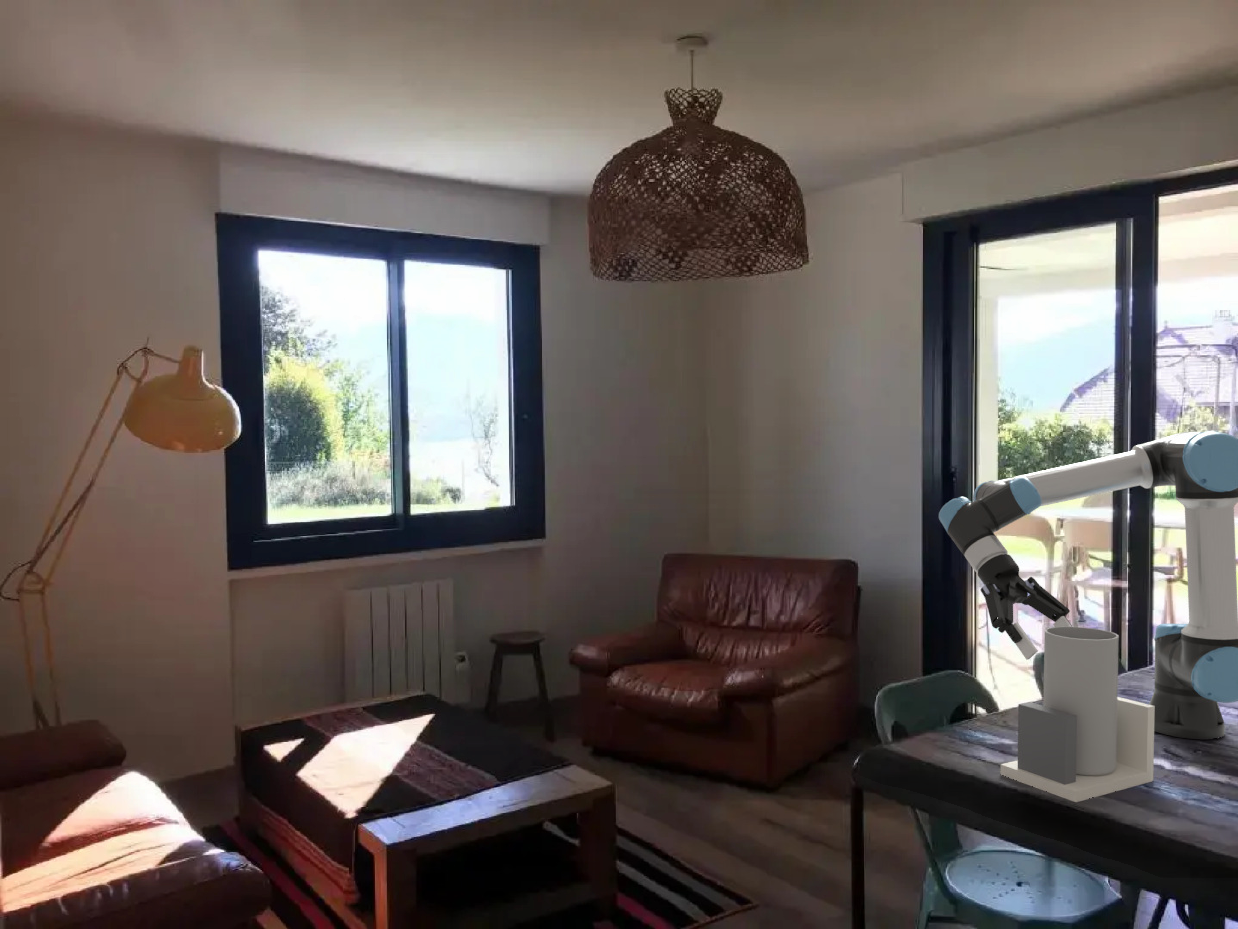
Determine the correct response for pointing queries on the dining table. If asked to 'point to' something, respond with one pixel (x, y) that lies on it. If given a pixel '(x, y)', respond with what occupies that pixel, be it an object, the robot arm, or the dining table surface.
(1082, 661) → the cylinder vase
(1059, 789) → the white corner bracket
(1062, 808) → the dining table surface
